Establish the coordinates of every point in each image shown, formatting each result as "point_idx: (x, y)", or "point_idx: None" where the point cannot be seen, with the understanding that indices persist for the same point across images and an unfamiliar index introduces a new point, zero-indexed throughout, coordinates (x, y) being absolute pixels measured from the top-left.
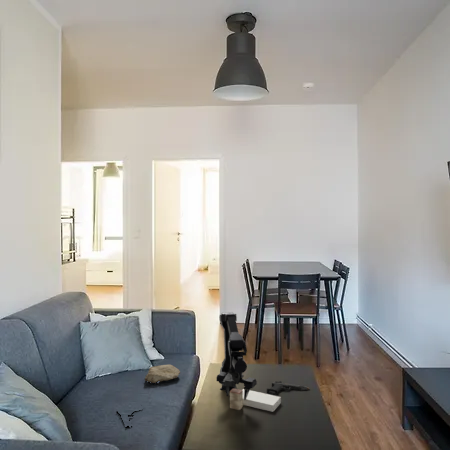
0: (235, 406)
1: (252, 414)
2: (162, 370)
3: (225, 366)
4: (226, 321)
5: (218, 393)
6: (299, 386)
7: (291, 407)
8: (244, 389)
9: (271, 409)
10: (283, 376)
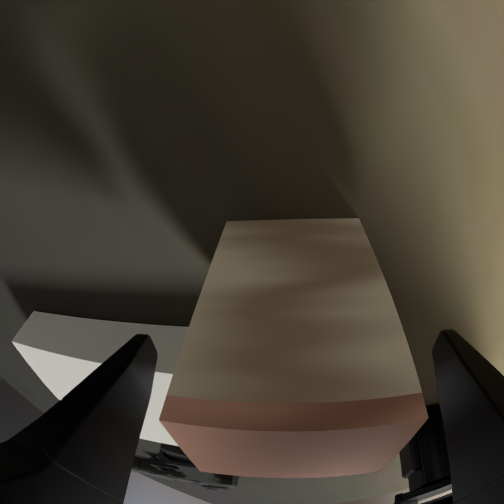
0: (280, 236)
1: (73, 211)
2: None
3: None
4: None
5: (492, 363)
6: (138, 470)
7: None
8: (14, 472)
9: (33, 321)
10: (245, 494)
